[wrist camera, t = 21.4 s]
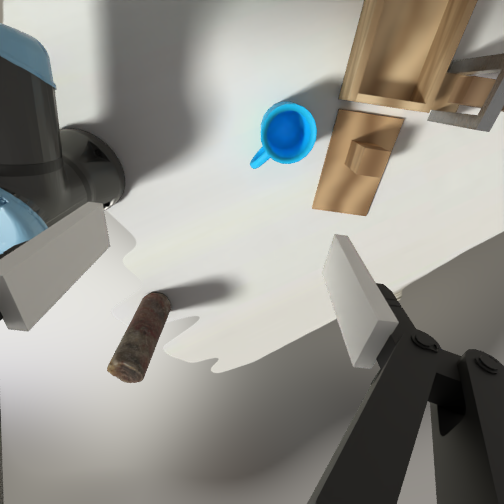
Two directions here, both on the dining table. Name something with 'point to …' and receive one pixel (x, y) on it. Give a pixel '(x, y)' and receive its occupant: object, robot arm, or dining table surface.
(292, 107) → the mug
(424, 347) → the robot arm
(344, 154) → the lid
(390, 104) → the toolbox
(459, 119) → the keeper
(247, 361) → the dining table surface
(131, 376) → the brown piece
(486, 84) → the bar
